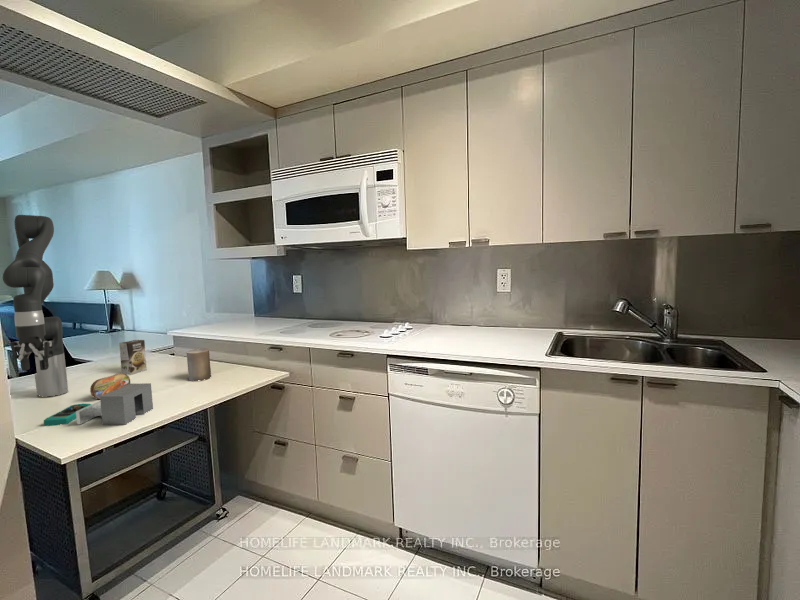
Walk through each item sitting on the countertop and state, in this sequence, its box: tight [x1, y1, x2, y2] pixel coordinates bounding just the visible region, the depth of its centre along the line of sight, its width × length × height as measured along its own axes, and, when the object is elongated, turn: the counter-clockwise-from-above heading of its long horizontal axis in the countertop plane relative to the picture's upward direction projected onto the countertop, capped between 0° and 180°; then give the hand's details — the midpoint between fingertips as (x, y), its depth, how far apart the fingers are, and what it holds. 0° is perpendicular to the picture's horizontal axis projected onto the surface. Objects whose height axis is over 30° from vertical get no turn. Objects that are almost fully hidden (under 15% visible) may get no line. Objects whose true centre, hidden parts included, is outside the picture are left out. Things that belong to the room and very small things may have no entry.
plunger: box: [75, 400, 102, 425], centre depth 141 cm, size 13×21×4 cm, turn 178°
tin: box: [89, 373, 131, 400], centre depth 161 cm, size 15×3×8 cm, turn 162°
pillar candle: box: [185, 347, 212, 382], centre depth 183 cm, size 10×10×15 cm
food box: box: [119, 339, 148, 375], centre depth 196 cm, size 9×6×16 cm
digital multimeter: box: [43, 403, 92, 426], centre depth 139 cm, size 7×15×3 cm, turn 9°
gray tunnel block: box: [99, 382, 154, 426], centre depth 137 cm, size 8×14×10 cm, turn 178°
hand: (35, 369), depth 137 cm, fingers open, 6 cm apart
